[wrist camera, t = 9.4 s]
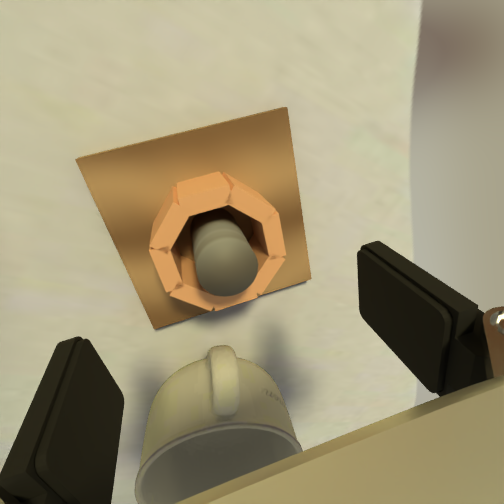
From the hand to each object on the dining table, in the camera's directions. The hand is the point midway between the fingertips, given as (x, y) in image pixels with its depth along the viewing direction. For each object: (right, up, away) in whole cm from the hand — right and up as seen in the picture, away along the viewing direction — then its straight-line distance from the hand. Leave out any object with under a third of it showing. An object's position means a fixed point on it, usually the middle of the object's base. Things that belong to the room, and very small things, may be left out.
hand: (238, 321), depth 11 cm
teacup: (-3, -8, +16) cm, 18 cm away
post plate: (-2, +4, +10) cm, 11 cm away
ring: (-2, +4, +9) cm, 10 cm away
